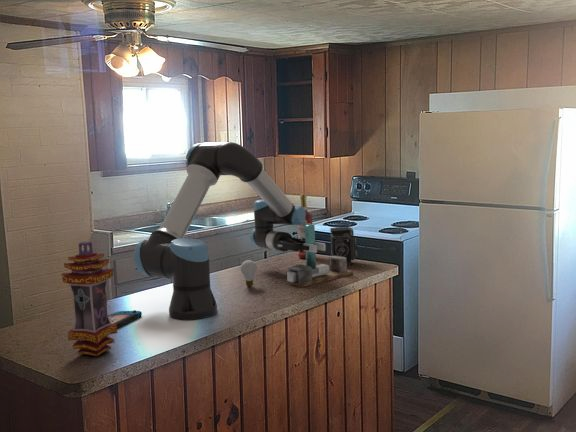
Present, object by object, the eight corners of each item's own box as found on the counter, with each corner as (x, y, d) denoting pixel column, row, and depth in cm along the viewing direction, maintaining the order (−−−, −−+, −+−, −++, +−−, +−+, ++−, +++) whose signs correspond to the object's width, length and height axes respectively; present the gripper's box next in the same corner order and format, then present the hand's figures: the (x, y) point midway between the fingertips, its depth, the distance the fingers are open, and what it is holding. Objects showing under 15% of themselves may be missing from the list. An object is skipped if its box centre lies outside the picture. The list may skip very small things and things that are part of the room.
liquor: (315, 255, 281) (313, 193, 278) (312, 259, 274) (309, 195, 270) (299, 255, 283) (296, 193, 279) (295, 259, 276) (293, 195, 272)
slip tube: (293, 282, 228) (291, 229, 226) (286, 280, 231) (284, 228, 229) (329, 273, 240) (327, 223, 237) (322, 271, 243) (320, 222, 240)
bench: (302, 286, 228) (301, 268, 227) (286, 282, 235) (285, 265, 234) (352, 273, 245) (352, 257, 244) (336, 270, 251) (335, 254, 250)
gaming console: (117, 309, 204) (143, 309, 200) (119, 316, 204) (144, 317, 200) (66, 332, 182) (94, 333, 178) (67, 341, 182) (95, 341, 178)
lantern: (67, 357, 165) (57, 244, 161) (90, 345, 173) (81, 238, 169) (98, 361, 161) (88, 246, 157) (120, 349, 170) (112, 239, 166)
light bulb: (258, 284, 233) (257, 258, 232) (256, 289, 228) (255, 261, 226) (243, 285, 234) (241, 258, 233) (240, 289, 228) (238, 262, 227)
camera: (358, 265, 258) (357, 229, 256) (332, 266, 258) (331, 230, 256) (355, 260, 268) (354, 225, 266) (331, 261, 269) (329, 226, 266)
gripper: (296, 247, 254) (336, 254, 237) (263, 253, 244) (303, 262, 226) (295, 228, 253) (336, 234, 236) (262, 234, 243) (303, 241, 225)
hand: (320, 248), depth 231 cm, fingers closed on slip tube, 4 cm apart
